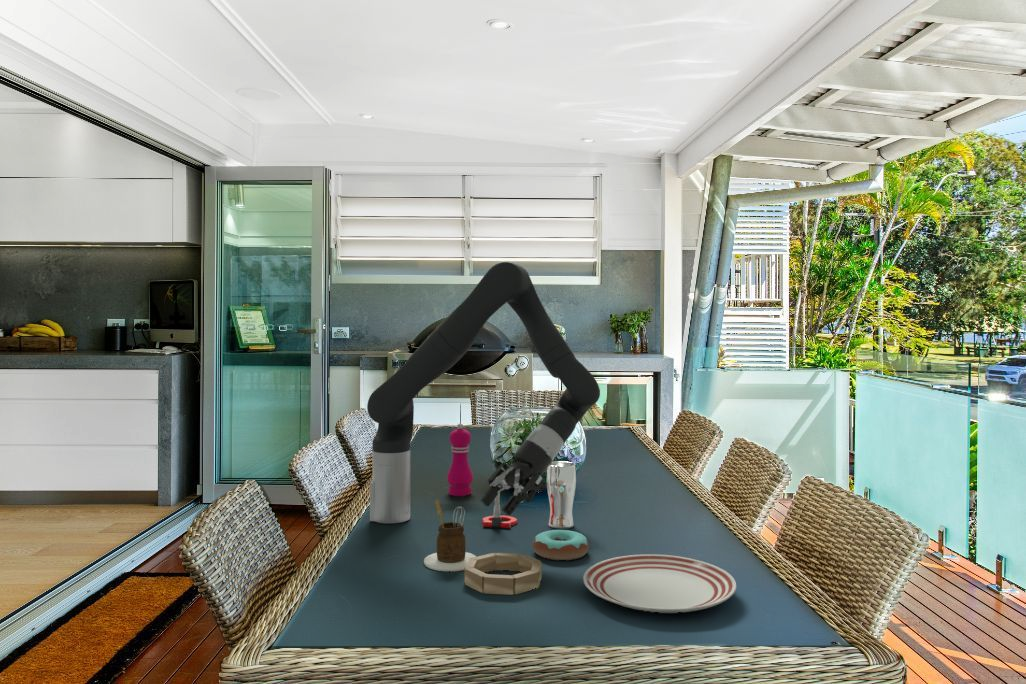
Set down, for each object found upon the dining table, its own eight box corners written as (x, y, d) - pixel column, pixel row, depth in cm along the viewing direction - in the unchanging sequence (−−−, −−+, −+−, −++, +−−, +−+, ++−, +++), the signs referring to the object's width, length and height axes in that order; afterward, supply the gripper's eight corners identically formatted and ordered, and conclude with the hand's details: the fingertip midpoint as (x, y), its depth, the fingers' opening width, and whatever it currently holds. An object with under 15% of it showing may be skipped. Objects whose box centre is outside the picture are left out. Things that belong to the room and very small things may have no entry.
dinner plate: (634, 636, 121) (635, 616, 121) (557, 580, 146) (557, 563, 146) (769, 610, 132) (770, 591, 131) (676, 562, 157) (676, 546, 157)
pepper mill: (476, 492, 216) (476, 422, 215) (466, 497, 209) (467, 425, 209) (453, 490, 218) (453, 421, 218) (443, 495, 212) (443, 424, 211)
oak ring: (460, 592, 139) (460, 576, 139) (473, 566, 153) (473, 551, 153) (537, 595, 137) (537, 579, 137) (543, 569, 151) (543, 554, 151)
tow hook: (485, 519, 190) (478, 527, 180) (486, 467, 190) (479, 473, 181) (519, 521, 188) (513, 529, 179) (520, 469, 188) (514, 475, 179)
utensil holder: (459, 565, 152) (459, 505, 151) (430, 561, 154) (430, 503, 153) (469, 556, 157) (470, 498, 157) (441, 553, 159) (441, 496, 159)
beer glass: (579, 523, 184) (579, 462, 184) (569, 531, 178) (569, 467, 177) (553, 520, 187) (553, 459, 187) (542, 527, 181) (542, 465, 180)
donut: (553, 567, 153) (553, 547, 153) (521, 551, 164) (522, 532, 163) (600, 557, 160) (600, 538, 160) (566, 542, 170) (566, 524, 170)
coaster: (418, 570, 150) (418, 567, 150) (430, 552, 161) (430, 550, 161) (473, 572, 149) (473, 569, 149) (481, 554, 160) (481, 552, 160)
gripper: (511, 434, 171) (466, 490, 165) (548, 444, 159) (502, 505, 153) (530, 455, 174) (487, 511, 168) (568, 466, 162) (523, 527, 156)
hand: (494, 508), depth 161 cm, fingers open, 8 cm apart
